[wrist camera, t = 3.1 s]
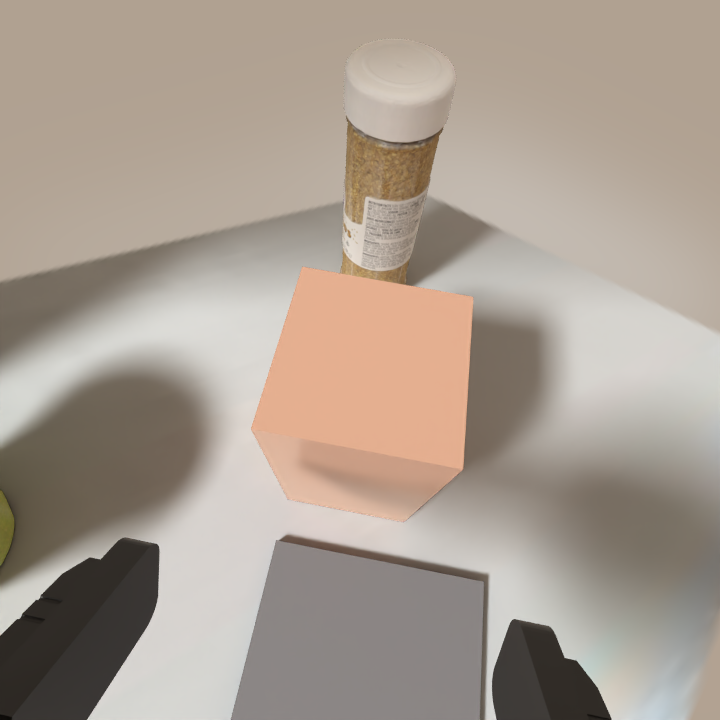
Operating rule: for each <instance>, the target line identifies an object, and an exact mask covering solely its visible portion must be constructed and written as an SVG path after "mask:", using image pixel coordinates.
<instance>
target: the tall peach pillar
mask: <svg viewBox="0 0 720 720" xmlns="http://www.w3.org/2000/svg"><path fill="white" fill-rule="evenodd" d="M472 312H473V297H470V296H465V295H459V294H453V293H448V292H442V291H437V290H431V289H425V288H420V287H414V286H408V285H403V284H397V283H391V282H386V281H380V280H374V279H369V278H363V277H357V276H352V275H346V274H341V273H335V272H329V271H324V270H318V269H312V268H307V267H302V269H301V273H300V276H299V279H298V282H297V285H296V288H295V292H294V295H293V298H292V301H291V304H290V307H289V310H288V314H287V317H286V320H285V323H284V326H283V329H282V333H281V336H280V339H279V342H278V345H277V348H276V351H275V355H274V358H273V361H272V364H271V367H270V370H269V374H268V377H267V380H266V383H265V386H264V389H263V392H262V396H261V399H260V402H259V405H258V408H257V411H256V415H255V418H254V421H253V424H252V427H251V430H252V432H253V434H254V436H255V438H256V440H257V441H258V443H259V445H260V447H261V449H262V451H263V453H264V455H265V457H266V459H267V460H268V462H269V464H270V466H271V468H272V470H273V472H274V474H275V476H276V478H277V479H278V481H279V483H280V485H281V487H282V489H283V491H284V493H285V495H286V497H287V498H288V499H289V500H294V501H299V502H304V503H309V504H314V505H319V506H324V507H329V508H334V509H340V510H345V511H350V512H355V513H360V514H365V515H370V516H375V517H380V518H385V519H390V520H396V521H401V522H405V521H406V520H407V519H408V518H409V517H410V516H411V515H412V514H414V513H415V512H416V511H417V510H418V509H419V508H420V507H421V506H423V505H424V504H425V503H426V502H427V501H428V500H429V499H431V498H432V497H433V496H434V495H435V494H436V493H437V492H438V491H440V490H441V489H442V488H443V487H444V486H445V485H446V484H447V483H449V482H450V481H451V480H452V479H453V478H454V477H455V476H457V475H458V474H459V473H460V472H461V471H462V470H463V465H464V448H465V431H466V414H467V397H468V380H469V363H470V346H471V329H472Z"/></svg>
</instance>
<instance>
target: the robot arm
mask: <svg viewBox="0 0 720 720" xmlns="http://www.w3.org/2000/svg"><path fill="white" fill-rule="evenodd" d="M158 578H159V546H158V545H157V544H154V543H149V542H144V541H140V540H135V539H130V538H122V539H120V540H119V541H118V542H117V543H116V544H115V545H114V546H113V547H112V548H111V549H110V550H109V551H108V552H107V553H106V554H105V555H104V557H103V558H102V559H101V560H99V559H95V558H88V559H87V560H85V561H83V562H81V563H80V564H78V565H76V566H75V567H73V568H71V569H70V570H68V571H66V572H65V573H63V574H62V575H61V576H60V577H59V578H58V579H57V580H56V581H55V582H54V583H53V584H52V585H51V586H50V587H49V588H48V589H47V590H46V591H45V592H44V593H43V594H42V595H41V597H40V599H39V600H36V601H35V602H34V603H33V604H32V605H31V606H30V607H29V608H28V609H27V610H26V611H25V612H24V613H23V614H22V616H21V618H20V619H17V620H16V621H15V622H14V623H13V624H12V625H11V626H10V627H9V628H8V629H7V630H6V631H5V632H4V633H3V634H2V635H1V636H0V720H87V719H88V717H89V716H90V714H91V713H92V711H93V709H94V708H95V706H96V705H97V703H98V702H99V700H100V699H101V697H102V696H103V694H104V693H105V691H106V689H107V688H108V686H109V685H110V683H111V682H112V680H113V679H114V677H115V676H116V674H117V672H118V671H119V669H120V668H121V666H122V665H123V663H124V662H125V660H126V659H127V657H128V655H129V654H130V652H131V651H132V649H133V648H134V646H135V645H136V643H137V642H138V640H139V638H140V637H141V635H142V634H143V632H144V631H145V629H146V628H147V626H148V624H149V622H150V620H151V618H152V615H153V613H154V610H155V607H156V603H157V598H158ZM492 696H493V704H494V709H495V714H496V719H497V720H611V717H610V714H609V712H608V710H607V708H606V705H605V703H604V701H603V699H602V696H601V694H600V692H599V690H598V688H597V687H596V685H595V684H594V683H593V681H592V680H591V679H590V677H589V676H588V675H587V674H586V672H585V671H584V670H583V668H582V667H581V666H580V664H579V663H578V662H577V661H576V660H571V659H566V658H564V655H563V653H562V650H561V648H560V645H559V643H558V640H557V638H556V635H555V633H554V631H553V630H552V629H551V627H549V626H545V625H540V624H535V623H531V622H526V621H521V620H516V619H514V620H512V621H511V623H510V625H509V628H508V630H507V633H506V636H505V639H504V642H503V645H502V648H501V650H500V653H499V656H498V659H497V662H496V665H495V668H494V672H493V679H492Z"/></svg>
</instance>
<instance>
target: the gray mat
mask: <svg viewBox="0 0 720 720" xmlns="http://www.w3.org/2000/svg"><path fill="white" fill-rule="evenodd" d="M483 601H484V582H483V581H478V580H473V579H468V578H463V577H458V576H453V575H448V574H443V573H438V572H433V571H428V570H423V569H418V568H413V567H408V566H403V565H398V564H393V563H388V562H383V561H378V560H373V559H368V558H363V557H358V556H353V555H348V554H343V553H338V552H333V551H328V550H323V549H318V548H313V547H308V546H303V545H298V544H293V543H288V542H283V541H278V540H276V543H275V547H274V551H273V555H272V559H271V563H270V567H269V571H268V575H267V579H266V583H265V587H264V591H263V595H262V599H261V603H260V607H259V610H258V614H257V618H256V622H255V626H254V630H253V634H252V638H251V642H250V646H249V650H248V654H247V658H246V662H245V666H244V670H243V674H242V678H241V682H240V686H239V690H238V694H237V698H236V701H235V705H234V709H233V713H232V717H231V720H480V697H481V665H482V633H483Z"/></svg>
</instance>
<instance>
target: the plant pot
mask: <svg viewBox="0 0 720 720" xmlns="http://www.w3.org/2000/svg"><path fill="white" fill-rule="evenodd" d="M13 533H14V516H13V514H12V512H11V509H10V507H9V504H8V502H7V500H6V498H5V496H4V494H3V492H2V491H1V490H0V566H1V565H2V563H3V561H4V559H5V557H6V555H7V553H8V551H9V548H10V545H11V542H12V538H13Z"/></svg>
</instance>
